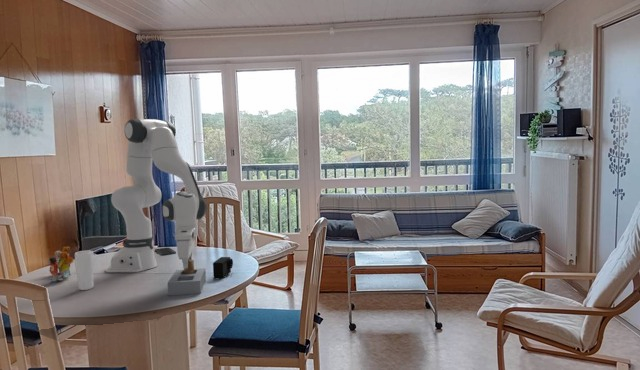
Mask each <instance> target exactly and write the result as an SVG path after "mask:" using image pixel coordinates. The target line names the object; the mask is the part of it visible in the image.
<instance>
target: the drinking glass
mask: <svg viewBox="0 0 640 370" xmlns="http://www.w3.org/2000/svg"><path fill="white" fill-rule="evenodd" d="M74 259H75V260H74V264H75V270H76V272H75V273H76V277H77V283H78V289H79V290H80V291H89V290H92V289H93V288H94V287H95V285H94V276H95V272H94V271H95V255H94V251H93V250H90V249H89V250H88V249H87V250H86V249H85V250H80V251H76V252H75V253H74Z"/></svg>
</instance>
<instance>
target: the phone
mask: <svg viewBox="0 0 640 370" xmlns="http://www.w3.org/2000/svg"><path fill="white" fill-rule="evenodd" d="M154 251H155V252H156V254H158V255H160V256H161V257H162V256H163V257H164V256H168V255H176V254H177V251H175V250H174V249H173V248H170V247H161V248H154ZM155 252H154V253H155Z"/></svg>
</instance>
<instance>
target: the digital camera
mask: <svg viewBox="0 0 640 370" xmlns="http://www.w3.org/2000/svg"><path fill="white" fill-rule="evenodd" d="M233 266H234V261H233V258H231V257H230V256H220V257H219V258H218V259H216V260H215V261H213V263H212V271H213V272H212V273H213V275H212V276H213V279H216V278H219V279H221V280H222V279H224V278H226V277H227V276H228V275H229V274H230V273H231V272H232V269H233Z"/></svg>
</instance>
